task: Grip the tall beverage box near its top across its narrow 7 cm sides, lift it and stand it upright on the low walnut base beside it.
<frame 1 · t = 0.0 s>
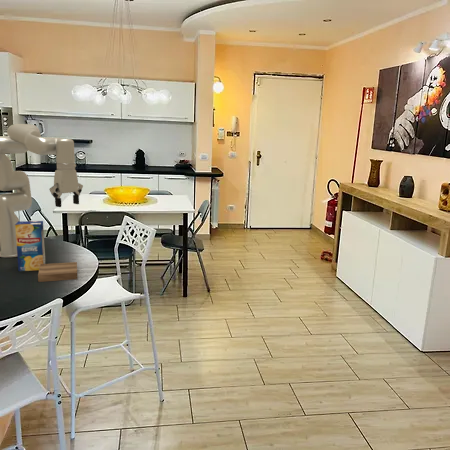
hand: (67, 205, 197), 31 cm above the table, tool pointing down, fingers open, 9 cm apart
beverage box: (32, 268, 206), on the table
walnut base: (58, 274, 199), on the table
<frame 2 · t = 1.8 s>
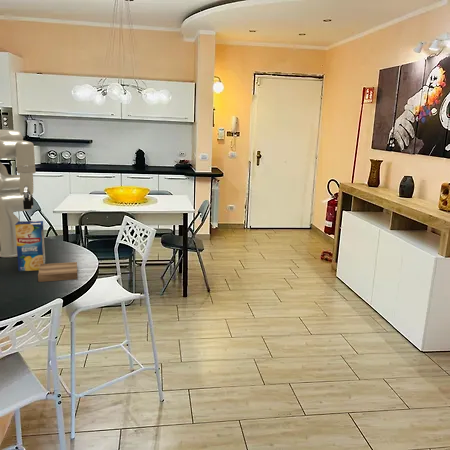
hand: (28, 207, 200), 29 cm above the table, tool pointing down, fingers open, 9 cm apart
nothing on the table moved.
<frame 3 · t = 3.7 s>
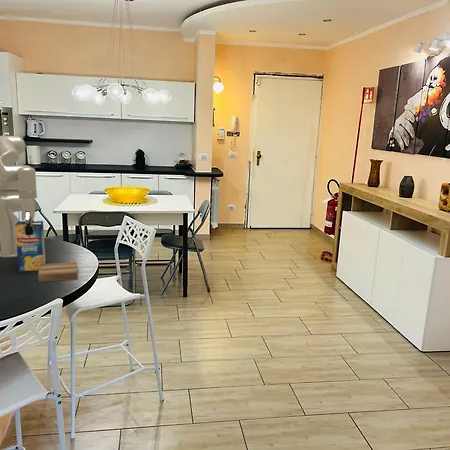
hand: (30, 232, 202), 17 cm above the table, tool pointing down, fingers closed on beverage box, 7 cm apart
beverage box: (32, 268, 206), on the table, touching gripper
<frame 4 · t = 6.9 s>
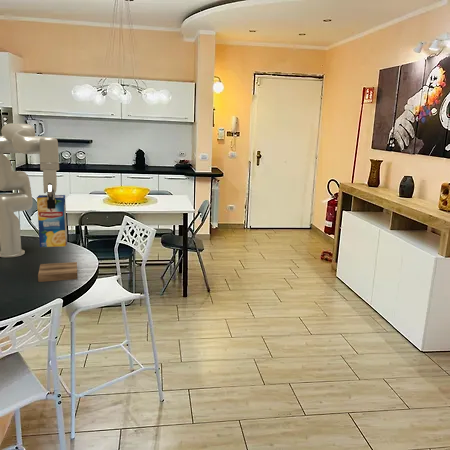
hand: (51, 206, 193), 31 cm above the table, tool pointing down, fingers closed on beverage box, 7 cm apart
beverage box: (53, 245, 197), point 14 cm above the table, touching gripper
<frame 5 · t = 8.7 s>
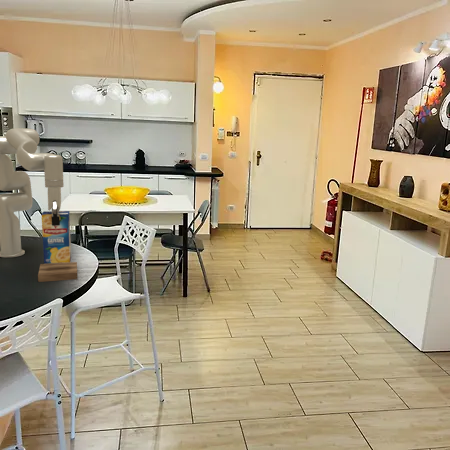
hand: (56, 223, 194), 24 cm above the table, tool pointing down, fingers closed on beverage box, 7 cm apart
beverage box: (58, 261, 197), point 6 cm above the table, touching gripper
when the fingers open (22 cm above the table, at t = 10.3 s): beverage box drops 1 cm, resting on walnut base.
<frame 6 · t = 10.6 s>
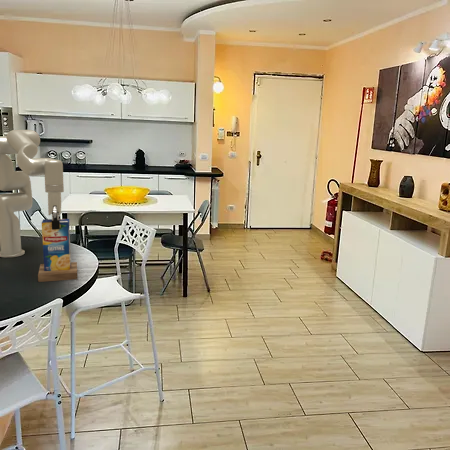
hand: (56, 226, 194), 22 cm above the table, tool pointing down, fingers open, 9 cm apart
beverage box: (58, 268, 199), point 3 cm above the table, touching walnut base
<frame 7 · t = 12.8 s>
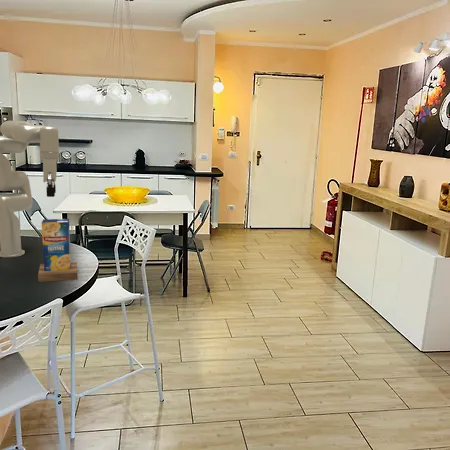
hand: (51, 194, 194), 36 cm above the table, tool pointing down, fingers open, 9 cm apart
nothing on the table moved.
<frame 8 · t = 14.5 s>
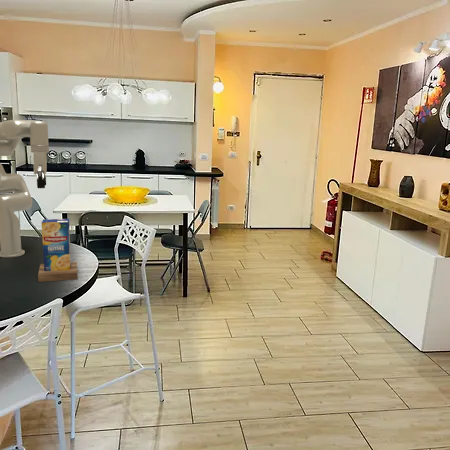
hand: (41, 186, 202), 38 cm above the table, tool pointing down, fingers open, 9 cm apart
nothing on the table moved.
at the end: beverage box inside the target area on the walnut base (0.4 cm from its centre), point 2.8 cm above the walnut base's base; beverage box tilted 0°; the gripper is holding nothing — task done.
